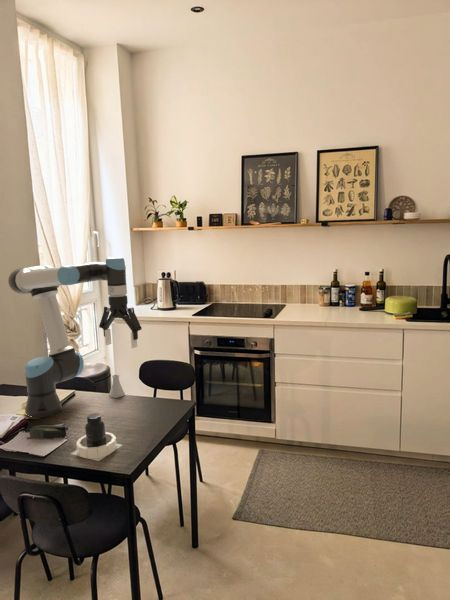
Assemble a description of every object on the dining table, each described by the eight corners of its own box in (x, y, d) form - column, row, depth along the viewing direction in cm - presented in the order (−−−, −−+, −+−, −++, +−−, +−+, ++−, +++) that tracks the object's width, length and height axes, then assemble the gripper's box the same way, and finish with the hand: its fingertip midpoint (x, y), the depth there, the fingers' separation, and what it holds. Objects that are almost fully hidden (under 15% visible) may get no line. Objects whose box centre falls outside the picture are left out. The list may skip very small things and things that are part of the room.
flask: (116, 399, 220) (114, 378, 219) (106, 396, 225) (104, 376, 223) (127, 394, 226) (126, 374, 224) (117, 391, 230) (116, 372, 229)
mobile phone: (66, 424, 183) (27, 424, 183) (63, 427, 180) (24, 427, 180) (67, 436, 183) (28, 436, 184) (64, 440, 180) (25, 440, 181)
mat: (70, 454, 168) (70, 453, 168) (95, 439, 179) (95, 438, 179) (98, 462, 162) (98, 461, 162) (122, 445, 173) (122, 444, 173)
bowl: (69, 453, 168) (68, 444, 167) (95, 438, 179) (95, 429, 179) (98, 461, 161) (97, 451, 161) (123, 444, 173) (122, 435, 173)
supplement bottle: (99, 440, 175) (96, 410, 173) (110, 445, 171) (108, 414, 169) (83, 448, 170) (80, 416, 168) (94, 453, 166) (91, 421, 164)
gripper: (88, 295, 194) (92, 345, 198) (136, 298, 183) (140, 350, 187) (100, 292, 201) (104, 341, 204) (148, 295, 190) (151, 346, 193)
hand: (121, 346), depth 195 cm, fingers open, 13 cm apart
